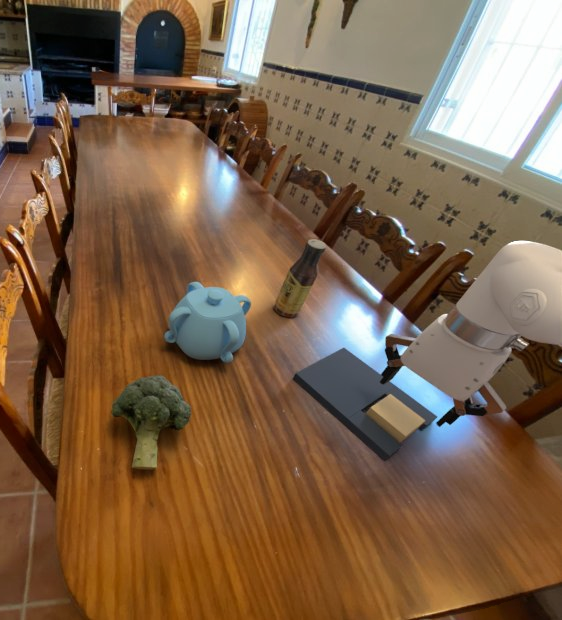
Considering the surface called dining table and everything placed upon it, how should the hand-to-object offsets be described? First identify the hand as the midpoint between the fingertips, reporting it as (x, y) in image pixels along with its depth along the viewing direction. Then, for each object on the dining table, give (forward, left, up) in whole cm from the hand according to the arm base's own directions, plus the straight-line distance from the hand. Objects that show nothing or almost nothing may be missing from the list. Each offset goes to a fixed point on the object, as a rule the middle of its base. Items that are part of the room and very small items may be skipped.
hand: (412, 400), depth 62 cm
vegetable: (+19, +41, -8) cm, 46 cm away
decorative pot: (+33, +18, -8) cm, 39 cm away
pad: (0, 0, -8) cm, 8 cm away
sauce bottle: (+32, -8, -8) cm, 34 cm away
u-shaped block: (+6, 0, -8) cm, 10 cm away
